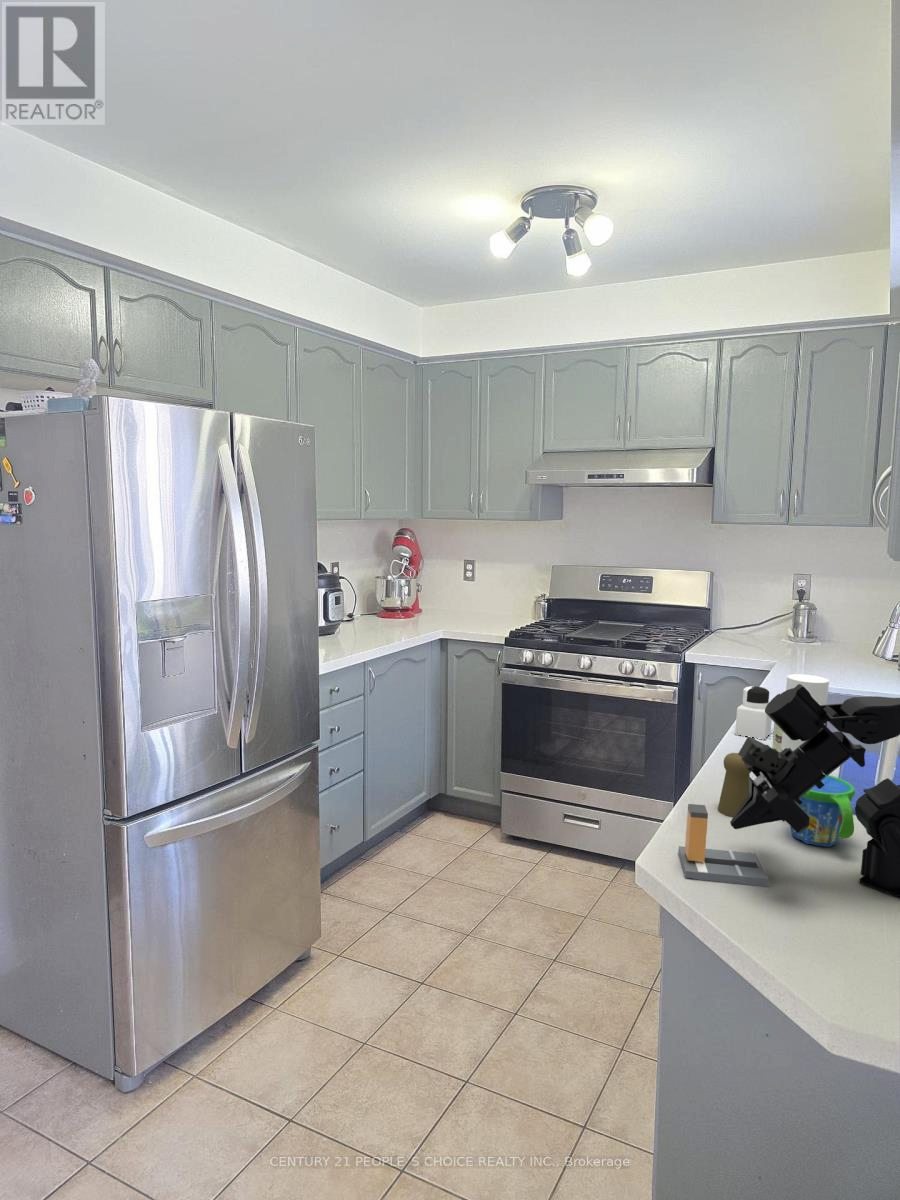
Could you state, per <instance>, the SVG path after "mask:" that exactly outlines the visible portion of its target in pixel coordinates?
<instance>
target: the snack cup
mask: <svg viewBox="0 0 900 1200" xmlns="http://www.w3.org/2000/svg"><path fill="white" fill-rule="evenodd" d="M824 775H825V774H824ZM825 776H826V775H825ZM822 782H823V784H824V786H823V787H822V788H821V789H819V788H818V787H817V786H814V787H813V788H812V789H811V790H809V791H808V792H807V793H806V794H804V795H803V796H802V797H801V798H800V799H801V801H802V802H803V803H802V804H801V805H800V806H801V807H802V808H803V809H804V810H805V812H806V813H807V815H808V816H809V817H810V818H809V826H808V827H807V828H806V829H805V830H803V831H802V832H801V833H800V834H798V833H797V832H796V831H795V830H794V829H793V828H792V827H791V826H790V832H791V835H792V836H794V838H796V839H797V840H799V841H800V840H801V841H802V842H803V843H804V844H806V845H812V846H816V847H831V846H835V845H836V844H838V843H839V840H840V838H841V839H848V838H850V837H851V836H853V835H854V832H855V823H854V815H853V806H852V803H851V801H852V800H853V798H854V796H855V794H856V789H855V788H854V786H853V785H852V784H851V783H850V782H848V781H846V780H844V779H842V778H839V777H836V776H832V775H830V774H829V775H828V776H826V778H824V779H823V780H822Z"/></svg>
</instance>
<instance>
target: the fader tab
mask: <svg viewBox="0 0 900 1200" xmlns="http://www.w3.org/2000/svg"><path fill="white" fill-rule="evenodd" d="M708 816H709V812H708V810H707V808H706V805H705V804H695V803H688V804H687V816H686V817H687V818H686V831H685V841H684V842H685V843H684V847H685V853H686V856H687V859H688V860H690V862H695V861H700V862H704V861H705V849H707V848H706V846H707V845H706V844H707V833H708Z"/></svg>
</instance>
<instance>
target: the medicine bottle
mask: <svg viewBox="0 0 900 1200" xmlns="http://www.w3.org/2000/svg"><path fill="white" fill-rule="evenodd" d="M769 702H770V691H769V690H768V689H767V688H765V687H762V686H751V685H750V686H746V687H744V688H743V692H742V704H740V705H739V706H738V707H737V708H736V717H735V718H736V719H735V720H736V721H735V732H734V735H736V736H738V735H741V736H740V737H744V736H750V737H755V738H761V739H765V740H766V739H767V738H768V737H769V736H768V735H770V734H771V731H772V722H773V720H772V719H771V718H770V717H769V716H768V715H767V714H766V713H765V708H766V706H767V705H768V703H769ZM767 736H768V737H767ZM766 737H767V738H766ZM755 738H754V739H755ZM761 739H760V740H761Z"/></svg>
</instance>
